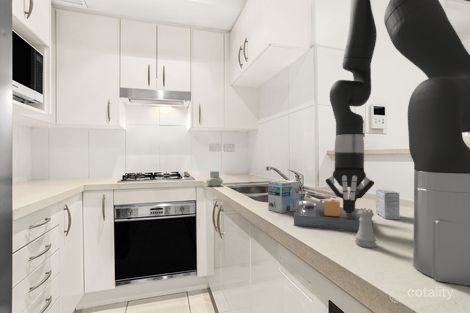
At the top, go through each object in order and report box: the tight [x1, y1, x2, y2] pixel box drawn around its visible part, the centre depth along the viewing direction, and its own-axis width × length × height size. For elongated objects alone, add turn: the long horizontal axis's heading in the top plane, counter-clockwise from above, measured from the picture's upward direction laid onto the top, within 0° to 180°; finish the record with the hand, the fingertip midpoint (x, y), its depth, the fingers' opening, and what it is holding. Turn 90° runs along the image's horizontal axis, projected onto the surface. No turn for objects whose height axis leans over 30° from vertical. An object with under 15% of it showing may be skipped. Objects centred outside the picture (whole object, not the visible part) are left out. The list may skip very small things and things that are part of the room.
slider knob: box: [323, 197, 341, 217], centre depth 71 cm, size 4×4×5 cm
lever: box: [354, 182, 364, 205], centre depth 78 cm, size 3×3×9 cm
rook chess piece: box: [354, 207, 378, 249], centre depth 55 cm, size 4×4×8 cm
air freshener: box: [205, 170, 223, 187], centre depth 164 cm, size 11×8×10 cm
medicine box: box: [375, 189, 401, 220], centre depth 82 cm, size 8×4×9 cm, turn 168°
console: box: [293, 198, 374, 233], centre depth 75 cm, size 17×20×6 cm
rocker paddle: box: [303, 194, 324, 205], centre depth 77 cm, size 4×10×1 cm, turn 70°
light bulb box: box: [267, 179, 301, 214], centre depth 91 cm, size 11×7×11 cm, turn 129°
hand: (348, 212), depth 69 cm, fingers closed
